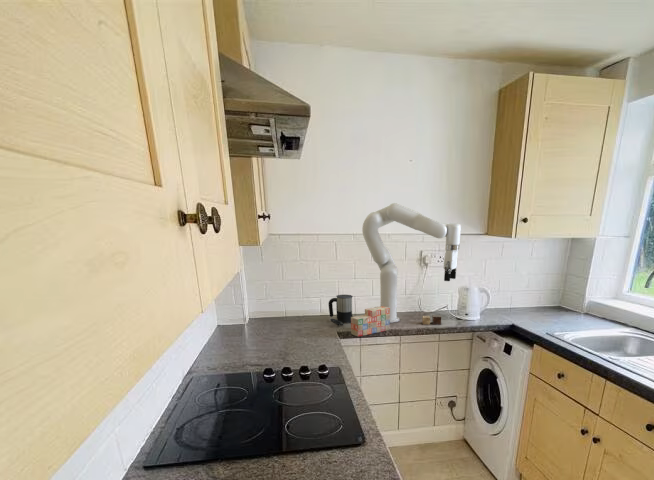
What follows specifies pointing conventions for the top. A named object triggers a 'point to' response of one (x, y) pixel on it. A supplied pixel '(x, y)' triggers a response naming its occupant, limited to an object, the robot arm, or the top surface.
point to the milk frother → (341, 309)
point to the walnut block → (436, 319)
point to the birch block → (426, 320)
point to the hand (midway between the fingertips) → (449, 279)
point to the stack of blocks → (371, 321)
